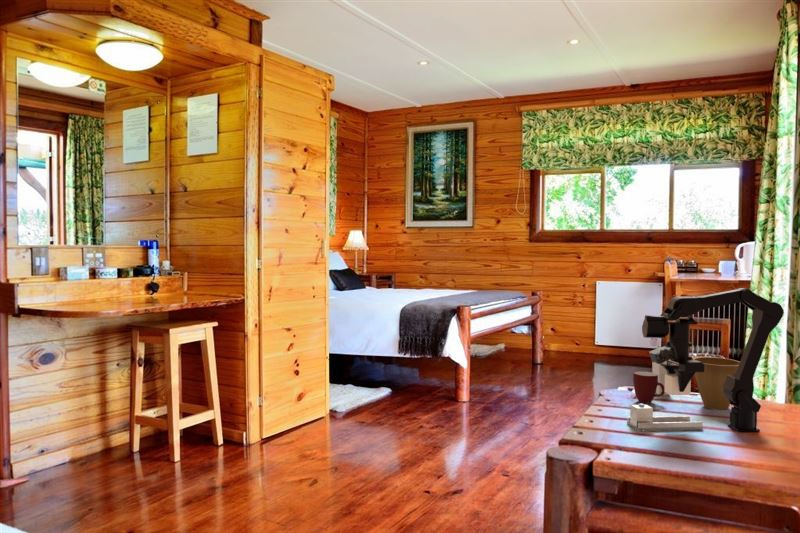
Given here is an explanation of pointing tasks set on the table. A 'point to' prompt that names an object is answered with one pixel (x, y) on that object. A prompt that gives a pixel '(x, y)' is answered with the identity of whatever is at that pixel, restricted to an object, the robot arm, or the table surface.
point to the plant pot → (715, 381)
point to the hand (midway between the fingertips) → (677, 390)
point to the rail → (659, 420)
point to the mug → (646, 386)
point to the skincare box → (659, 376)
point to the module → (675, 385)
